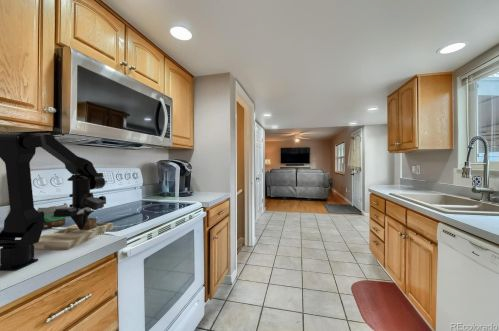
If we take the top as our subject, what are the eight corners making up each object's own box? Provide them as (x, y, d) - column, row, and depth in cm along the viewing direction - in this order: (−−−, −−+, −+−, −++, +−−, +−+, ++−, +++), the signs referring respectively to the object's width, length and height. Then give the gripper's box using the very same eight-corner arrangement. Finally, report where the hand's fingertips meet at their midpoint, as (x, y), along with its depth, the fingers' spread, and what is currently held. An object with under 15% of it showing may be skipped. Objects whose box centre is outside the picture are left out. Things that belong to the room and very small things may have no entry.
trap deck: (68, 249, 76) (68, 240, 75) (24, 248, 76) (24, 240, 76) (113, 228, 99) (113, 222, 99) (79, 227, 100) (79, 221, 100)
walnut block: (89, 230, 89) (89, 220, 89) (80, 230, 89) (80, 220, 89) (96, 227, 93) (96, 218, 93) (87, 227, 93) (87, 218, 93)
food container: (47, 230, 95) (47, 208, 95) (36, 229, 97) (36, 207, 97) (74, 223, 108) (74, 203, 107) (65, 222, 109) (65, 202, 109)
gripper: (82, 194, 77) (82, 237, 78) (115, 188, 96) (115, 223, 96) (52, 194, 78) (52, 236, 78) (91, 188, 96) (91, 222, 96)
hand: (81, 229), depth 87 cm, fingers closed
